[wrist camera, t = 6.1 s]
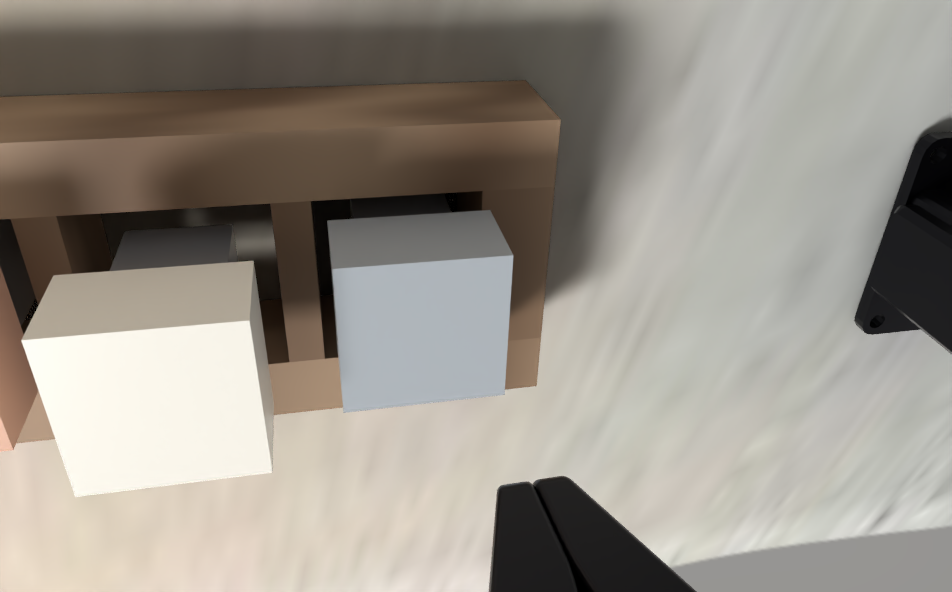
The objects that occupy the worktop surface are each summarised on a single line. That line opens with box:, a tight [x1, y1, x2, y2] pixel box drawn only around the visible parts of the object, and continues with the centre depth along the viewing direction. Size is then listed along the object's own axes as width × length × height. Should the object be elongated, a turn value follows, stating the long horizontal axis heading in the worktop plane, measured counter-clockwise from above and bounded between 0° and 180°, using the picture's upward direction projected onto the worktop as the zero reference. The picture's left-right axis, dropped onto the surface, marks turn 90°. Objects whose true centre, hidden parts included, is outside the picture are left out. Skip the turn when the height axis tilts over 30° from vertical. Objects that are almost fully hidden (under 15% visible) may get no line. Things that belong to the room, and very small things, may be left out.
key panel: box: [0, 80, 561, 443], centre depth 17 cm, size 16×7×3 cm, turn 87°
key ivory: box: [21, 224, 274, 497], centre depth 15 cm, size 3×3×5 cm
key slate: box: [327, 193, 513, 413], centre depth 17 cm, size 3×3×5 cm
